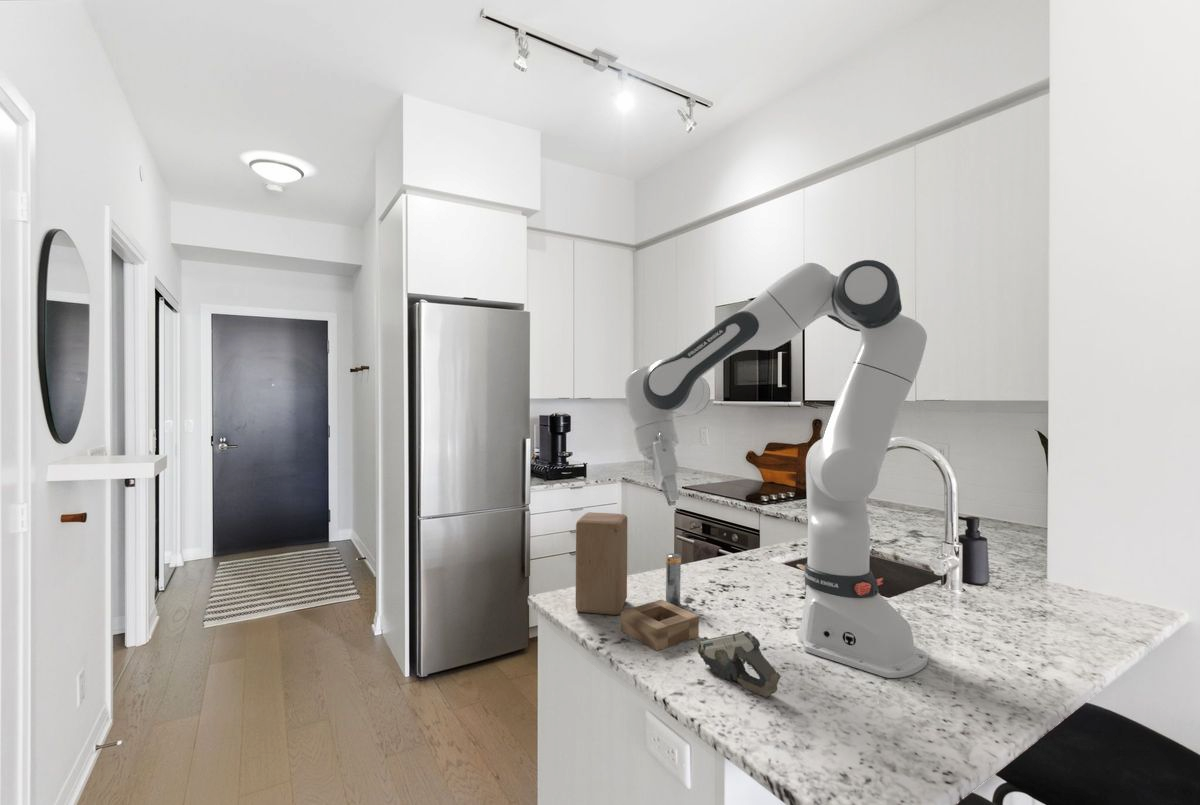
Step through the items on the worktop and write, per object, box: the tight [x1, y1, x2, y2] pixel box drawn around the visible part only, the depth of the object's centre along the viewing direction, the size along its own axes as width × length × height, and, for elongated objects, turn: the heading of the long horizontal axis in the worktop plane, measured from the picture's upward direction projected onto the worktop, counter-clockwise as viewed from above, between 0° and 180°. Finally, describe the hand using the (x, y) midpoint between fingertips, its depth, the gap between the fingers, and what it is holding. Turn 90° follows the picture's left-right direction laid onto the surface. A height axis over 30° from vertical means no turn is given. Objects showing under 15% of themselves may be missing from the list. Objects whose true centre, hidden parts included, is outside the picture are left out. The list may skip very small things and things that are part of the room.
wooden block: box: [575, 511, 628, 616], centre depth 128 cm, size 10×10×20 cm
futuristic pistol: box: [697, 630, 781, 698], centre depth 96 cm, size 2×15×10 cm, turn 38°
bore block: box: [620, 599, 700, 651], centre depth 114 cm, size 11×11×4 cm
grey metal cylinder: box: [665, 553, 682, 607], centre depth 130 cm, size 3×3×11 cm
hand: (673, 503), depth 121 cm, fingers open, 8 cm apart
